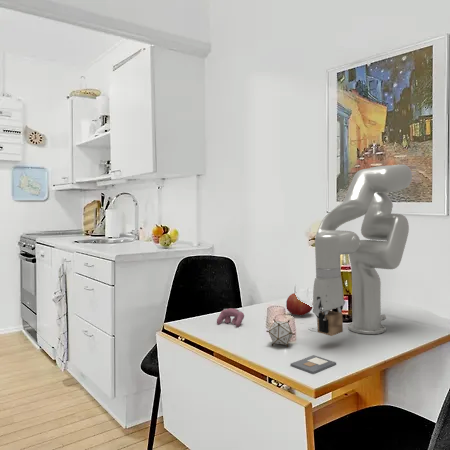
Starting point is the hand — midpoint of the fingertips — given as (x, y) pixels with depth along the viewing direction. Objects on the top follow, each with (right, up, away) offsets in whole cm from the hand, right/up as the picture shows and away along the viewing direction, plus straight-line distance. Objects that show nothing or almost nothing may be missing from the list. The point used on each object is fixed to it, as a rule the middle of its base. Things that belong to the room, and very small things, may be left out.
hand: (330, 329), depth 137 cm
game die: (-15, -6, +2) cm, 16 cm away
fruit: (-3, -4, +38) cm, 38 cm away
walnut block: (0, -1, 0) cm, 1 cm away
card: (-9, -6, -16) cm, 19 cm away
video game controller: (-31, -5, +27) cm, 41 cm away
